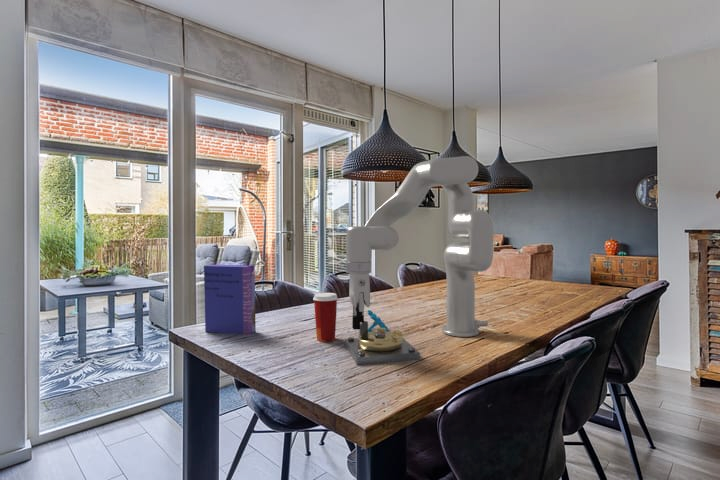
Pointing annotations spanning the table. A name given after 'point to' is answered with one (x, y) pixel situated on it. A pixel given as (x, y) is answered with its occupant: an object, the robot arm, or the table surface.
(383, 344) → the brass paddle wheel
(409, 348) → the base plate
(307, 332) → the table surface
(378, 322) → the gear
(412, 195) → the robot arm
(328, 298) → the coffee cup
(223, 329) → the blue book
